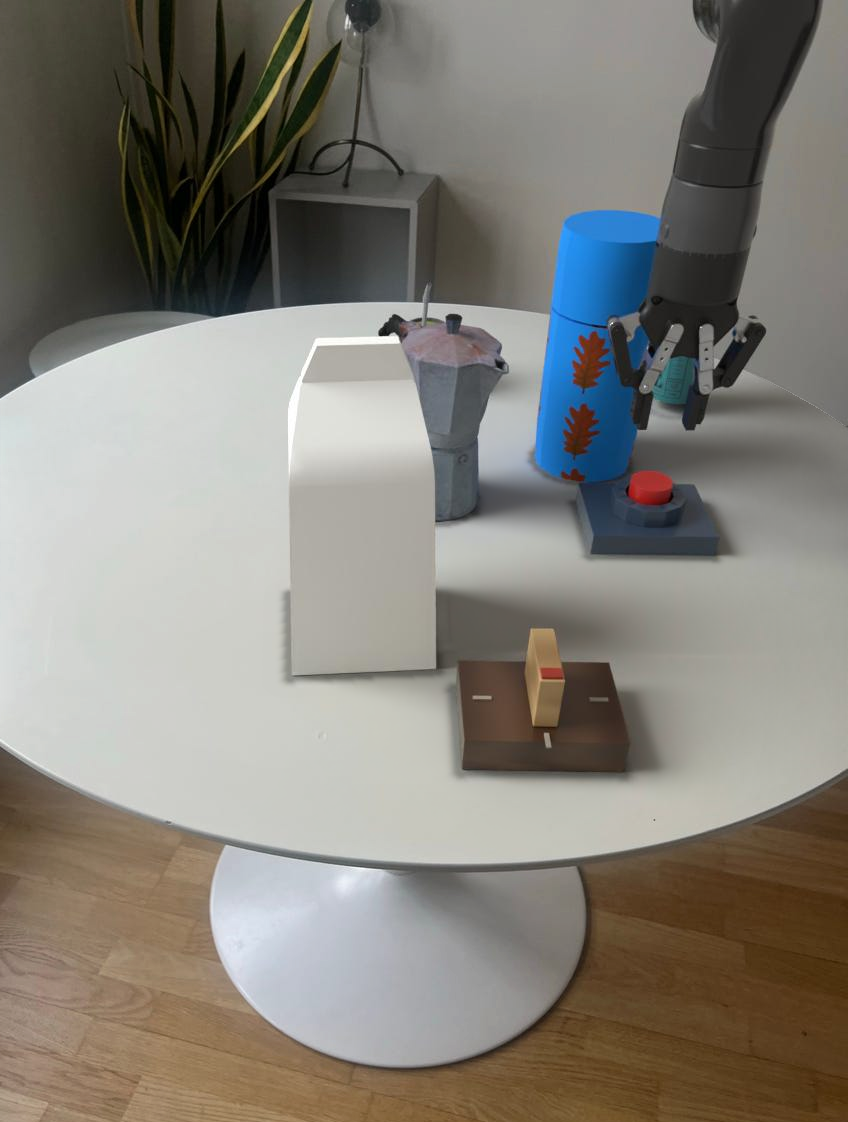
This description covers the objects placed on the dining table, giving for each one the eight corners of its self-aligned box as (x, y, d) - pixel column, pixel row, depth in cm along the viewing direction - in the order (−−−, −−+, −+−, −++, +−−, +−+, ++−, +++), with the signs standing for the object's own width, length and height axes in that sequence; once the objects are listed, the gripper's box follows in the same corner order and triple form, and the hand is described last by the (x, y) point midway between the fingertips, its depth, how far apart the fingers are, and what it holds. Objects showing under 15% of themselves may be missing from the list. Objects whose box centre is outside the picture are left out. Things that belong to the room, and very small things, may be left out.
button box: (689, 502, 101) (698, 468, 98) (714, 556, 93) (724, 521, 91) (575, 500, 101) (580, 467, 99) (590, 554, 93) (596, 519, 91)
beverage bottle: (709, 408, 118) (750, 238, 105) (669, 421, 115) (707, 249, 102) (669, 388, 122) (705, 223, 109) (631, 401, 119) (662, 233, 107)
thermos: (523, 473, 105) (552, 236, 89) (541, 430, 113) (570, 205, 97) (624, 490, 103) (672, 248, 87) (635, 444, 111) (681, 215, 95)
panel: (602, 685, 79) (608, 655, 77) (625, 778, 71) (633, 748, 69) (455, 683, 79) (457, 653, 77) (462, 775, 71) (465, 745, 69)
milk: (291, 675, 80) (271, 377, 63) (290, 592, 88) (272, 312, 72) (436, 668, 80) (453, 372, 64) (420, 587, 89) (432, 308, 73)
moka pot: (469, 544, 95) (485, 347, 82) (346, 494, 102) (343, 307, 89) (518, 503, 101) (540, 314, 88) (399, 459, 108) (403, 278, 95)
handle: (524, 672, 75) (530, 625, 72) (547, 673, 75) (554, 625, 72) (532, 726, 71) (540, 678, 68) (557, 727, 71) (565, 678, 68)
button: (664, 486, 96) (668, 470, 95) (673, 507, 93) (677, 491, 92) (624, 485, 96) (627, 470, 95) (632, 506, 93) (635, 491, 92)
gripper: (777, 222, 82) (729, 409, 93) (610, 221, 82) (581, 408, 93) (807, 250, 76) (751, 446, 87) (626, 249, 76) (593, 445, 87)
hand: (663, 425), depth 90 cm, fingers open, 4 cm apart
